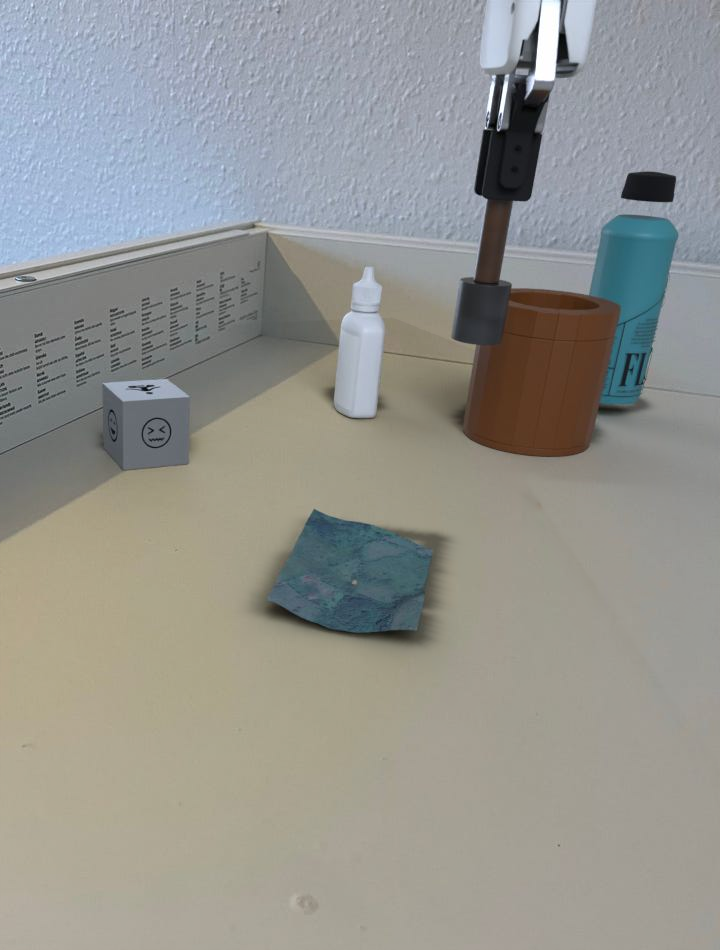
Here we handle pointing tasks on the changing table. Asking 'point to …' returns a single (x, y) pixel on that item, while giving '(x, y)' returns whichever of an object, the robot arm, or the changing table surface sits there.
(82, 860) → the changing table surface
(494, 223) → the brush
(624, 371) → the beverage bottle
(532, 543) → the changing table surface
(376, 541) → the terrain model
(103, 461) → the changing table surface
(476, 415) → the brown wooden cup
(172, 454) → the dice cube
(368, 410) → the eye dropper bottle
